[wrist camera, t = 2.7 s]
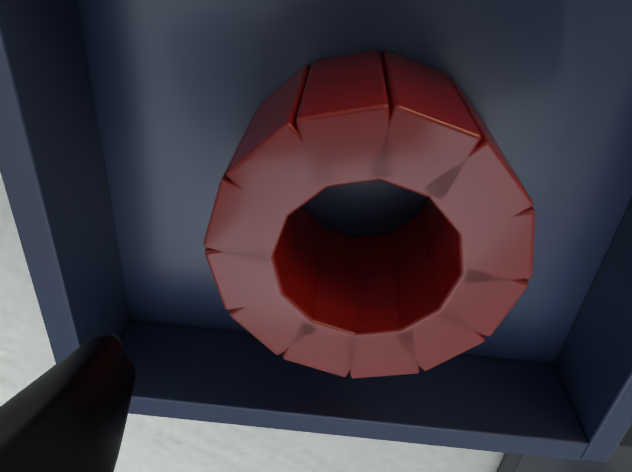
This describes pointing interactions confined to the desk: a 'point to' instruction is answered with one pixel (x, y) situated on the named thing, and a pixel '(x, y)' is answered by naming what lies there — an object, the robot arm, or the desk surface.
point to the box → (322, 205)
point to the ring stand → (572, 461)
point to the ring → (373, 250)
